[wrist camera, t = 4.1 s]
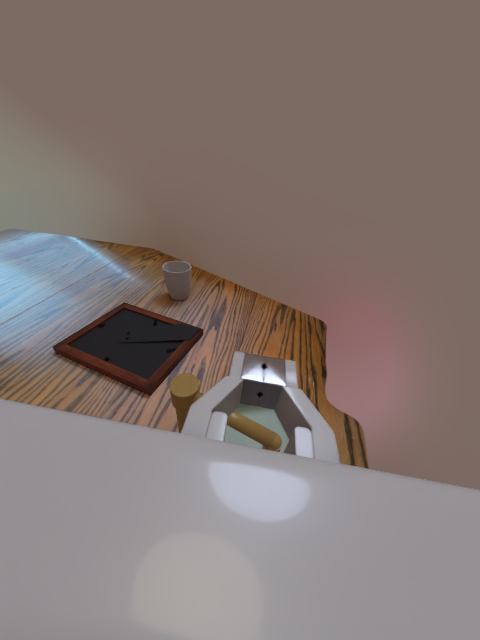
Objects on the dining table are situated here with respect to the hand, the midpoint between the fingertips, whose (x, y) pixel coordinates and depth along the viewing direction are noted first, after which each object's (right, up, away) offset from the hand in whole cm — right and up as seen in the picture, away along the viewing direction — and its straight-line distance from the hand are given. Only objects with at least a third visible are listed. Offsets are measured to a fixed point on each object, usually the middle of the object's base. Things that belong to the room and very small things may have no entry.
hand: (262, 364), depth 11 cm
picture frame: (-26, -3, +43) cm, 50 cm away
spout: (-3, -10, +15) cm, 18 cm away
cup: (-20, +10, +61) cm, 65 cm away
